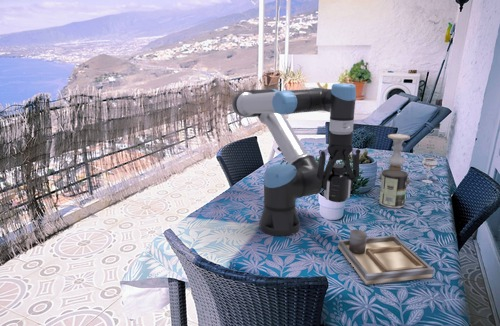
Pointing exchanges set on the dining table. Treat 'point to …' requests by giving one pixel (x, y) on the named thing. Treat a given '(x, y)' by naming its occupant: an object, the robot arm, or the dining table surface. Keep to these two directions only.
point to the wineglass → (429, 166)
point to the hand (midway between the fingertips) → (336, 197)
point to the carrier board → (383, 258)
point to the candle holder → (397, 152)
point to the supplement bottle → (338, 183)
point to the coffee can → (393, 188)
